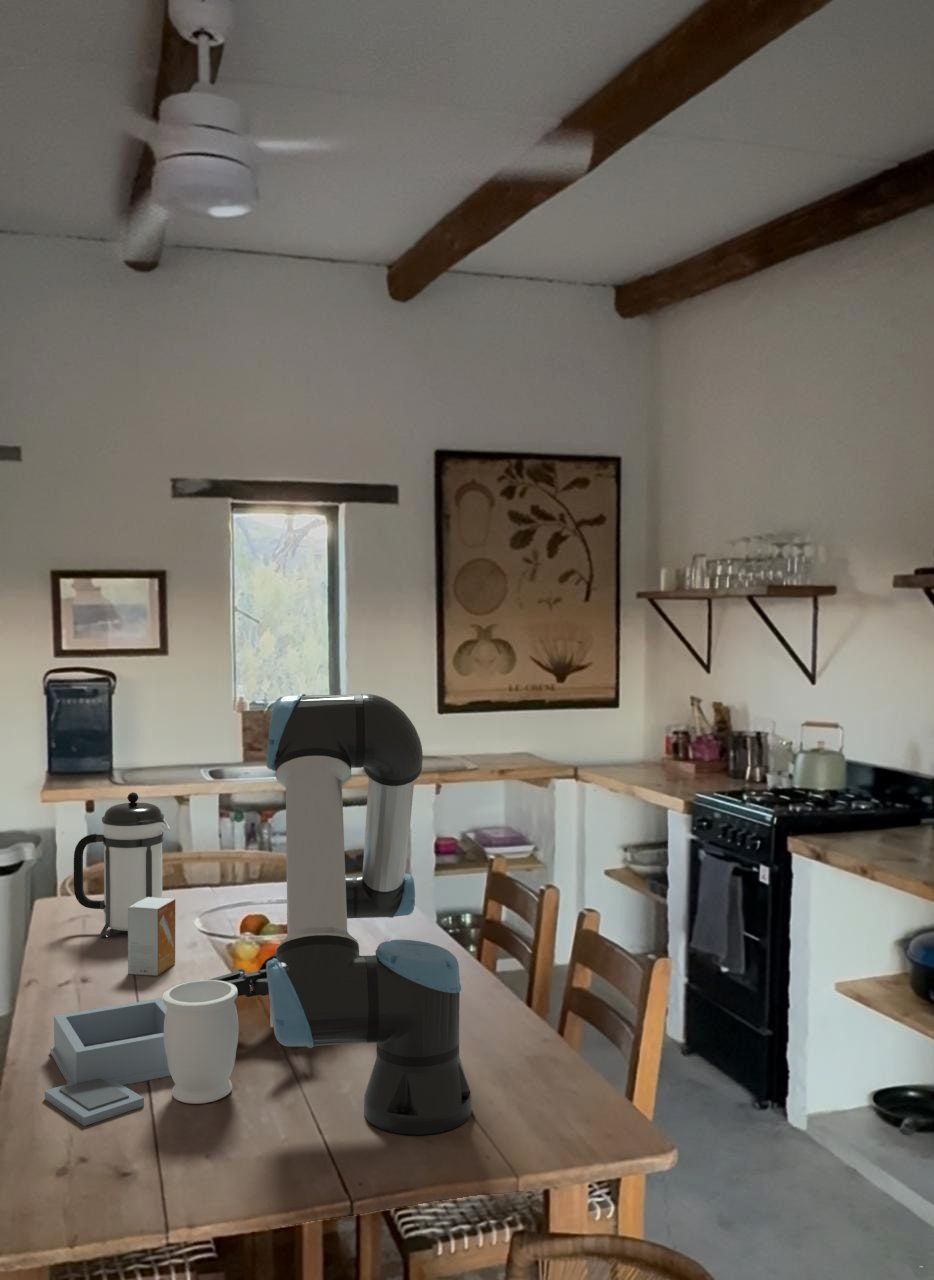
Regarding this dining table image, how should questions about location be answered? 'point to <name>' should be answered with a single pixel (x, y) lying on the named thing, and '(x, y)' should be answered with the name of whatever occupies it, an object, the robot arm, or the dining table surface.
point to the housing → (112, 1043)
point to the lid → (94, 1100)
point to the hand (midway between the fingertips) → (231, 1013)
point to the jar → (201, 1039)
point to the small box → (151, 936)
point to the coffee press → (125, 860)
